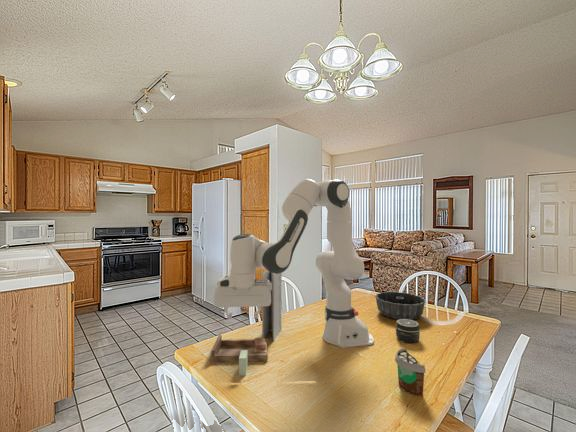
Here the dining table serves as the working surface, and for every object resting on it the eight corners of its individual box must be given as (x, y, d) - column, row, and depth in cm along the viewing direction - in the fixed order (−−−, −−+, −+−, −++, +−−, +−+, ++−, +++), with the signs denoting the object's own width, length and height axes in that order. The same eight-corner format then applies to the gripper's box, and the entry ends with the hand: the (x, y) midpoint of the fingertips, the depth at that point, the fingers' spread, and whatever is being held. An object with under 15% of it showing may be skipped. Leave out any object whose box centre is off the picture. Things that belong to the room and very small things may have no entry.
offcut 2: (266, 347, 120) (266, 342, 120) (265, 357, 112) (265, 351, 112) (255, 348, 120) (255, 342, 120) (254, 357, 112) (254, 352, 112)
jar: (423, 339, 130) (423, 322, 130) (415, 346, 122) (415, 328, 122) (400, 333, 137) (401, 316, 136) (392, 339, 129) (392, 322, 129)
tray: (268, 345, 123) (268, 334, 123) (267, 362, 109) (267, 349, 109) (218, 346, 122) (218, 335, 122) (211, 364, 108) (211, 350, 108)
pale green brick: (247, 367, 106) (247, 350, 105) (245, 376, 100) (245, 358, 99) (241, 367, 105) (241, 350, 105) (238, 377, 99) (238, 358, 99)
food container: (388, 376, 100) (388, 348, 100) (405, 376, 100) (405, 347, 100) (406, 399, 87) (406, 367, 87) (425, 398, 88) (425, 366, 88)
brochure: (274, 342, 126) (274, 274, 126) (262, 341, 127) (262, 273, 127) (281, 329, 140) (281, 268, 140) (270, 328, 141) (270, 267, 141)
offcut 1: (264, 342, 120) (264, 337, 120) (265, 349, 113) (265, 344, 113) (254, 343, 119) (254, 338, 119) (255, 350, 113) (255, 345, 113)
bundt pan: (383, 304, 179) (383, 288, 179) (430, 313, 164) (430, 295, 164) (368, 317, 158) (368, 298, 158) (420, 328, 142) (420, 308, 142)
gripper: (272, 277, 106) (272, 314, 106) (216, 278, 105) (216, 315, 105) (272, 281, 100) (272, 321, 100) (212, 282, 99) (212, 322, 99)
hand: (242, 318), depth 103 cm, fingers open, 8 cm apart
